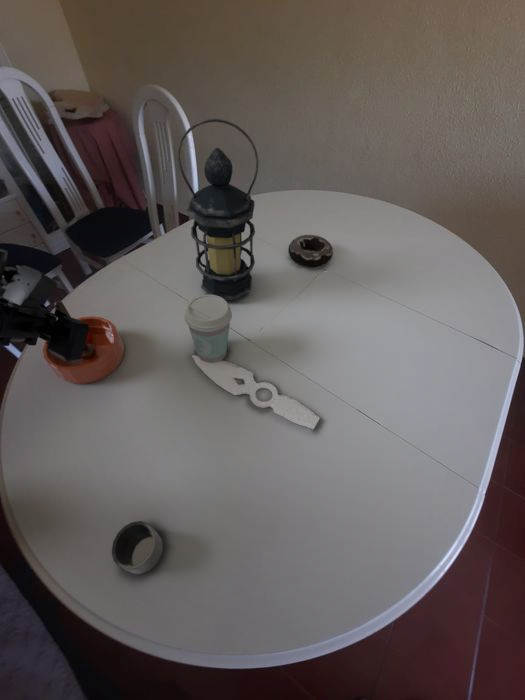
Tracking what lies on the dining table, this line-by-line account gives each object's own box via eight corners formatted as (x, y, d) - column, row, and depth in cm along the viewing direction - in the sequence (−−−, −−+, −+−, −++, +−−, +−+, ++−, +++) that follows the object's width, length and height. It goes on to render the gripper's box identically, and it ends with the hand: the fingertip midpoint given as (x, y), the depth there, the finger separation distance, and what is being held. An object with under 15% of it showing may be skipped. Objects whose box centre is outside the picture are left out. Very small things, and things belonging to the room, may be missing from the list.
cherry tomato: (79, 351, 68) (72, 340, 65) (76, 340, 70) (70, 329, 67) (95, 345, 69) (89, 334, 66) (92, 335, 70) (86, 324, 68)
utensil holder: (127, 582, 44) (117, 578, 41) (118, 541, 47) (107, 534, 44) (167, 560, 46) (161, 554, 43) (156, 521, 49) (148, 513, 46)
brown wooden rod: (93, 358, 66) (64, 307, 55) (76, 359, 65) (43, 309, 55) (97, 346, 68) (69, 294, 57) (80, 347, 67) (49, 295, 57)
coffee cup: (186, 343, 70) (178, 297, 62) (226, 334, 73) (223, 288, 64) (196, 373, 65) (189, 328, 56) (238, 362, 67) (237, 317, 59)
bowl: (60, 395, 62) (47, 380, 58) (51, 346, 69) (39, 329, 65) (132, 369, 66) (125, 353, 62) (116, 325, 73) (109, 308, 70)
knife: (308, 438, 58) (309, 436, 57) (181, 366, 67) (181, 364, 66) (323, 411, 61) (324, 409, 60) (201, 346, 70) (200, 344, 69)
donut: (330, 246, 94) (333, 233, 91) (331, 272, 87) (334, 259, 84) (289, 243, 95) (290, 230, 92) (286, 268, 87) (287, 255, 84)
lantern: (192, 305, 78) (161, 134, 51) (202, 270, 86) (180, 106, 59) (254, 309, 78) (255, 138, 51) (258, 273, 86) (261, 110, 59)
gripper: (50, 286, 44) (131, 300, 59) (-43, 246, 49) (53, 267, 64) (29, 366, 45) (113, 359, 60) (-60, 319, 50) (38, 323, 65)
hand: (79, 325), depth 62 cm, fingers closed on brown wooden rod
